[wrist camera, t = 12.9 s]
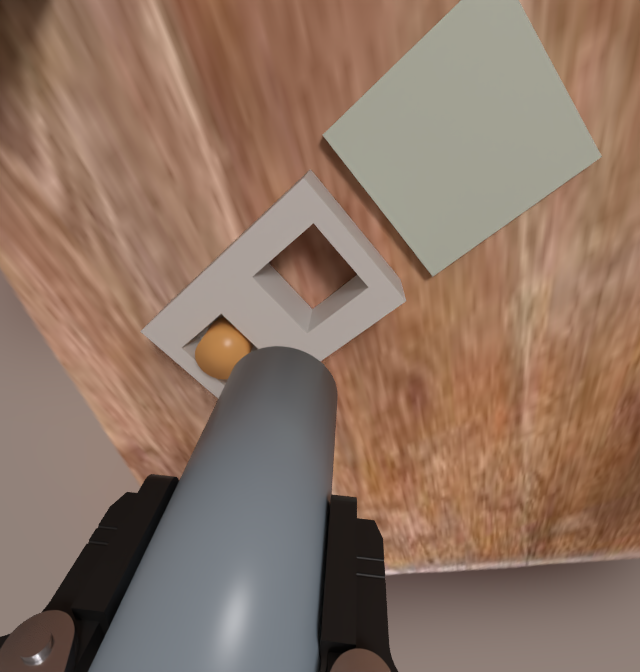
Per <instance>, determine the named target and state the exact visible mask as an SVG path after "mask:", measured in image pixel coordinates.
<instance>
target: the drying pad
mask: <svg viewBox="0 0 640 672" xmlns="http://www.w3.org/2000/svg"><path fill="white" fill-rule="evenodd" d="M323 136H324V138H325V139H326V140H327V141H328V143H329V144H330V145H331V147H332V148H333V149H334V150H335V152H336V153H337V154H338V156H339V157H340V158H341V159H342V161H343V162H344V163H345V165H346V166H347V167H348V168H349V170H350V171H351V172H352V174H353V175H354V176H355V177H356V179H357V180H358V181H359V183H360V184H361V185H362V186H363V188H364V189H365V190H366V191H367V193H368V194H369V195H370V197H371V198H372V199H373V200H374V202H375V203H376V204H377V206H378V207H379V208H380V209H381V211H382V212H383V213H384V215H385V216H386V217H387V218H388V220H389V221H390V222H391V224H392V225H393V226H394V227H395V229H396V230H397V231H398V233H399V234H400V235H401V236H402V238H403V239H404V240H405V241H406V243H407V244H408V245H409V247H410V248H411V249H412V250H413V252H414V253H415V254H416V256H417V257H418V258H419V259H420V261H421V262H422V263H423V265H424V266H425V267H426V268H427V270H428V271H429V272H430V274H431V275H432V276H434V275H436V274H437V273H438V272H440V271H441V270H443V269H444V268H446V267H447V266H448V265H450V264H451V263H453V262H454V261H455V260H457V259H458V258H460V257H461V256H462V255H464V254H465V253H467V252H468V251H470V250H471V249H472V248H474V247H475V246H477V245H478V244H479V243H481V242H482V241H484V240H485V239H486V238H488V237H489V236H491V235H492V234H493V233H495V232H496V231H498V230H499V229H501V228H502V227H503V226H505V225H506V224H508V223H509V222H510V221H512V220H513V219H515V218H516V217H517V216H519V215H520V214H522V213H523V212H524V211H526V210H527V209H529V208H530V207H532V206H533V205H534V204H536V203H537V202H539V201H540V200H541V199H543V198H544V197H546V196H547V195H548V194H550V193H551V192H553V191H554V190H556V189H557V188H558V187H560V186H561V185H563V184H564V183H565V182H567V181H568V180H570V179H571V178H572V177H574V176H575V175H577V174H578V173H579V172H581V171H582V170H584V169H585V168H587V167H588V166H589V165H591V164H592V163H594V162H595V161H596V160H598V159H599V158H601V157H602V156H601V154H600V152H599V150H598V149H597V147H596V145H595V143H594V141H593V139H592V137H591V135H590V134H589V132H588V130H587V128H586V126H585V124H584V122H583V120H582V119H581V117H580V115H579V113H578V111H577V109H576V107H575V105H574V103H573V102H572V100H571V98H570V96H569V94H568V92H567V90H566V88H565V87H564V85H563V83H562V81H561V79H560V77H559V75H558V73H557V72H556V70H555V68H554V66H553V64H552V62H551V60H550V58H549V57H548V55H547V53H546V51H545V49H544V47H543V45H542V43H541V41H540V40H539V38H538V36H537V34H536V32H535V30H534V28H533V26H532V25H531V23H530V21H529V19H528V17H527V15H526V13H525V11H524V10H523V8H522V6H521V4H520V2H519V0H461V1H460V2H459V3H458V4H457V5H456V6H455V7H454V8H453V9H452V10H451V11H450V12H449V13H448V14H447V15H445V16H444V17H443V18H442V19H441V20H440V21H439V22H438V23H437V24H436V25H435V26H434V27H433V28H432V29H431V30H430V31H429V32H428V33H427V34H426V35H425V36H424V37H423V38H422V39H421V40H420V41H419V42H418V43H417V44H416V45H415V46H414V47H413V48H412V49H411V50H409V51H408V52H407V53H406V54H405V55H404V56H403V57H402V58H401V59H400V60H399V61H398V62H397V63H396V64H395V65H394V66H393V67H392V68H391V69H390V70H389V71H388V72H387V73H386V74H385V75H384V76H383V77H382V78H381V79H380V80H379V81H378V82H377V83H376V84H374V85H373V86H372V87H371V88H370V89H369V90H368V91H367V92H366V93H365V94H364V95H363V96H362V97H361V98H360V99H359V100H358V101H357V102H356V103H355V104H354V105H353V106H352V107H351V108H350V109H349V110H348V111H347V112H346V113H345V114H344V115H343V116H342V117H341V118H340V119H338V120H337V121H336V122H335V123H334V124H333V125H332V126H331V127H330V128H329V129H328V130H327V131H326V132H325V133H324V134H323Z"/></svg>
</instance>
